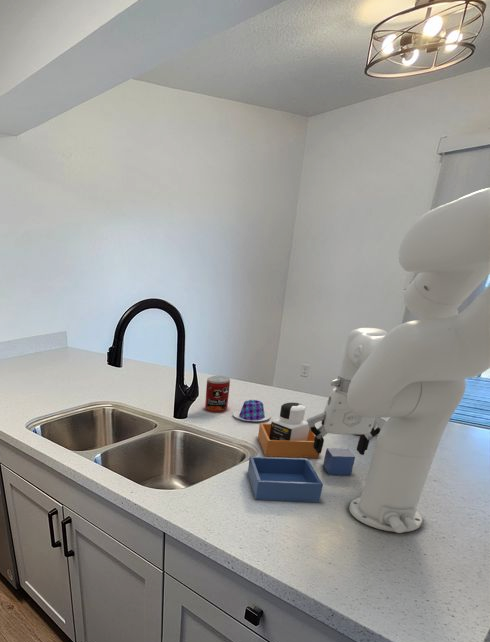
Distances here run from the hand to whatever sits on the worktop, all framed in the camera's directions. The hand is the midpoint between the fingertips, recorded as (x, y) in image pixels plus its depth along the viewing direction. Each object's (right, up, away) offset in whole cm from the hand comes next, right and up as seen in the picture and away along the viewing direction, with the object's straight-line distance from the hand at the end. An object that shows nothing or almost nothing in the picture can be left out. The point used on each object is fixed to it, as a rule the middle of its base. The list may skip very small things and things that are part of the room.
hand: (338, 451), depth 108 cm
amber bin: (-6, +2, +15) cm, 16 cm away
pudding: (-7, +14, +38) cm, 41 cm away
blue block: (0, -5, +1) cm, 5 cm away
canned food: (-16, +18, +47) cm, 53 cm away
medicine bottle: (-6, +2, +15) cm, 16 cm away
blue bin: (-16, -9, -4) cm, 19 cm away
